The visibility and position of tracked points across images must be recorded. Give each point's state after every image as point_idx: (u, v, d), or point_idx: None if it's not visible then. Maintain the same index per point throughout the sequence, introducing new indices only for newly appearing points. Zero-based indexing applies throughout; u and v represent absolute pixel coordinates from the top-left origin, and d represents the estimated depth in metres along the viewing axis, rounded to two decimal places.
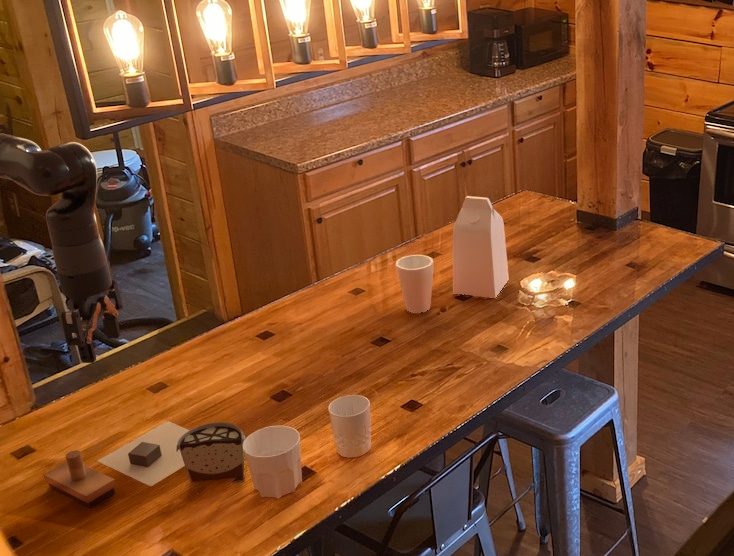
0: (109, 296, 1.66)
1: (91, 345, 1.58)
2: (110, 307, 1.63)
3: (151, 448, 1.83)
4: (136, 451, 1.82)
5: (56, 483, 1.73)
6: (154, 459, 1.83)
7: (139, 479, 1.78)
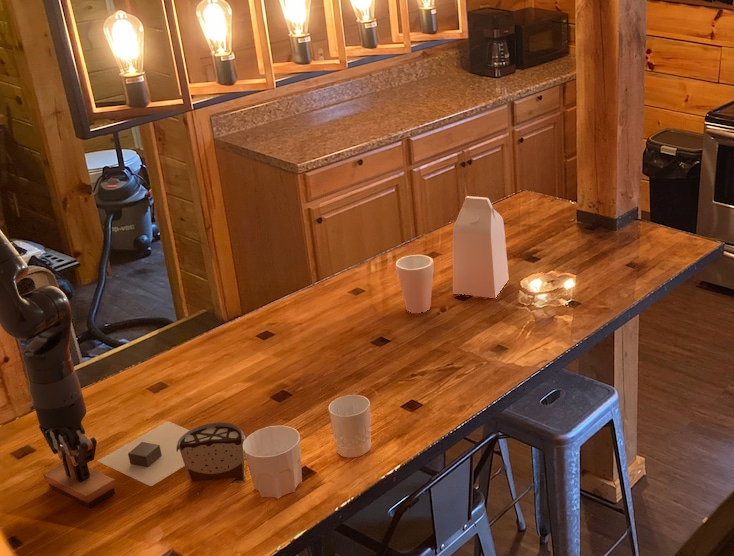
0: None
1: None
2: None
3: (151, 448, 1.83)
4: (136, 451, 1.82)
5: (56, 483, 1.73)
6: (154, 459, 1.83)
7: (139, 479, 1.78)
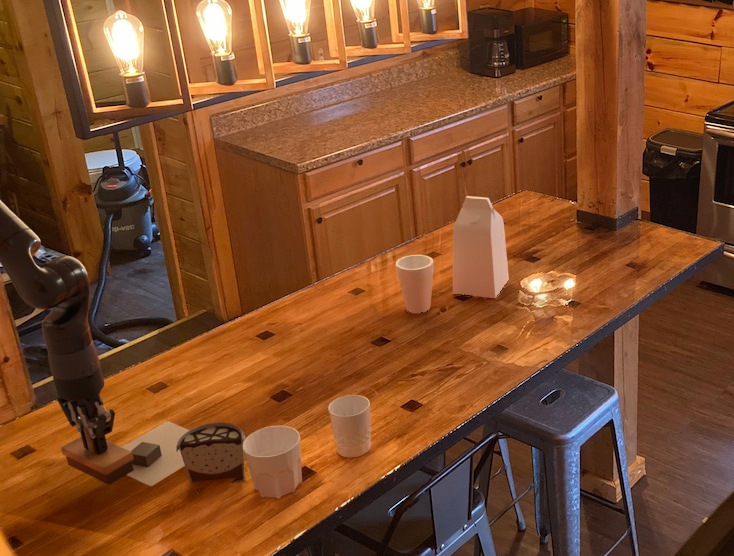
0: None
1: None
2: None
3: (151, 448, 1.83)
4: (136, 451, 1.82)
5: (74, 456, 1.73)
6: (154, 459, 1.83)
7: (139, 479, 1.78)
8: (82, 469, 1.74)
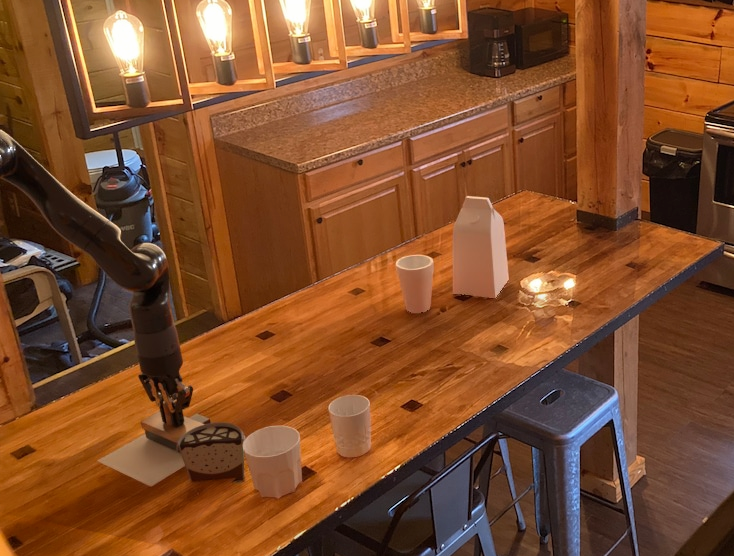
0: None
1: None
2: None
3: (202, 420, 1.92)
4: None
5: (153, 429, 1.87)
6: None
7: (139, 479, 1.78)
8: (160, 441, 1.88)
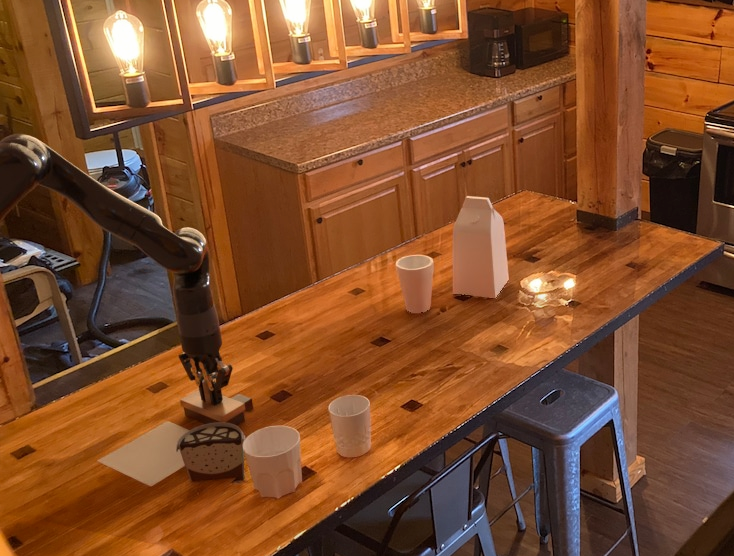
0: None
1: None
2: None
3: (244, 400, 2.01)
4: None
5: (192, 407, 1.95)
6: (245, 411, 2.00)
7: (139, 479, 1.78)
8: (199, 419, 1.95)
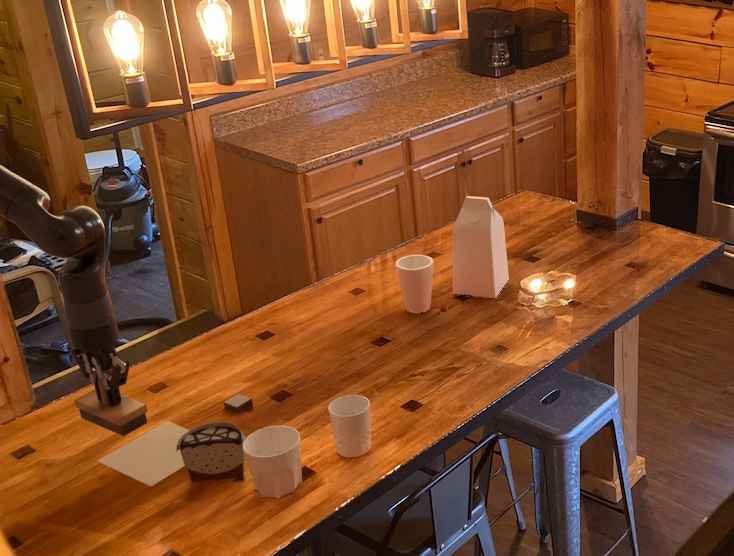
0: None
1: None
2: None
3: (244, 400, 2.01)
4: (231, 401, 2.00)
5: (87, 408, 1.73)
6: (245, 411, 2.00)
7: (139, 479, 1.78)
8: (95, 421, 1.74)
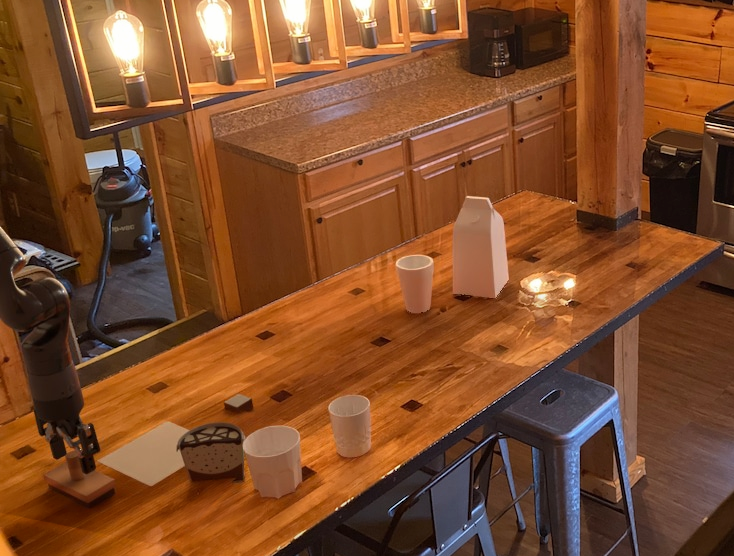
0: (46, 420, 1.72)
1: None
2: None
3: (244, 400, 2.01)
4: (231, 401, 2.00)
5: (56, 483, 1.73)
6: (245, 411, 2.00)
7: (139, 479, 1.78)
8: None
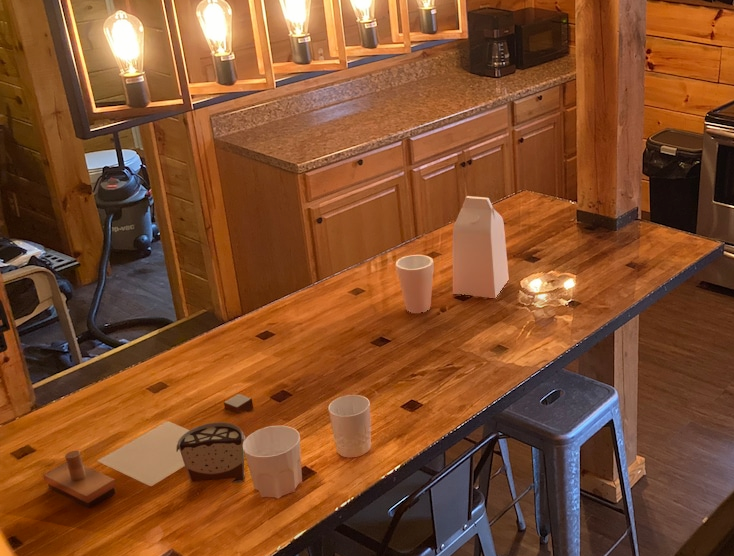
0: None
1: (2, 333, 1.67)
2: None
3: (244, 400, 2.01)
4: (231, 401, 2.00)
5: (56, 483, 1.73)
6: (245, 411, 2.00)
7: (139, 479, 1.78)
8: None
